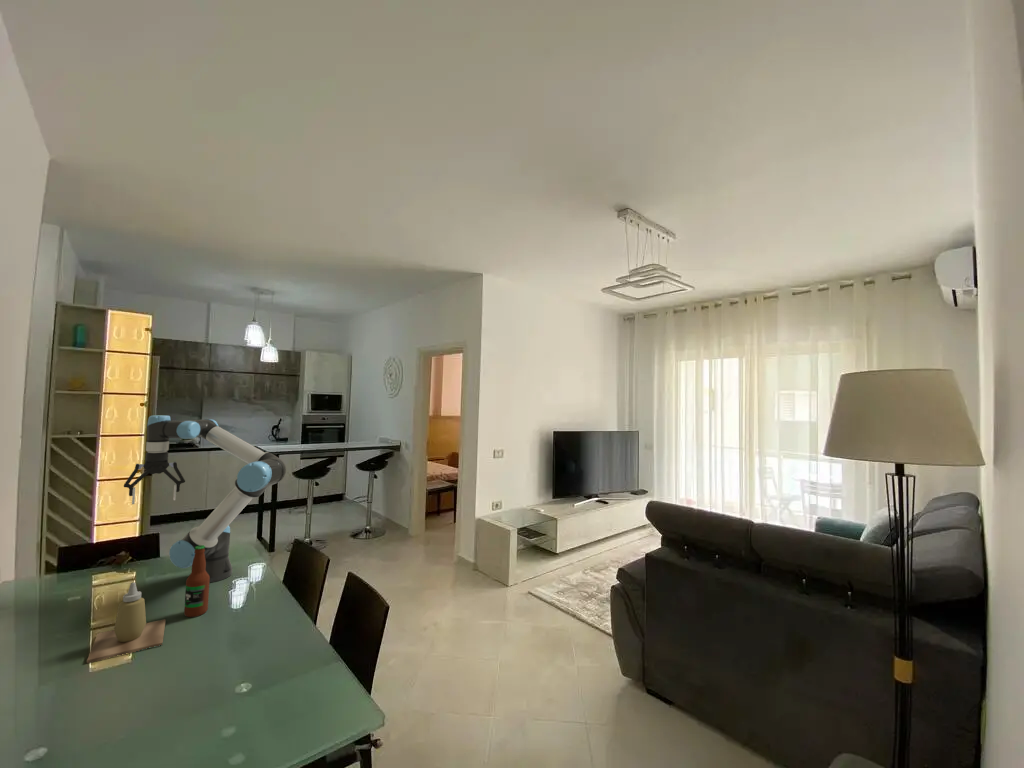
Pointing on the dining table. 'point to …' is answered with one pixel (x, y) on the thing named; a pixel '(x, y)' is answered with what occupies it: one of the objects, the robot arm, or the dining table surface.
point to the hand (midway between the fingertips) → (154, 501)
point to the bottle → (197, 586)
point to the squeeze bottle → (130, 616)
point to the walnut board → (110, 645)
